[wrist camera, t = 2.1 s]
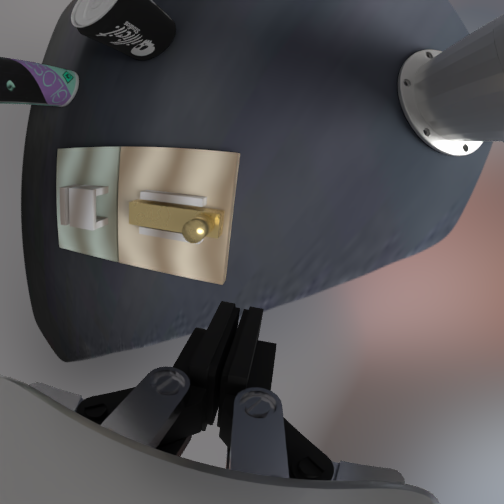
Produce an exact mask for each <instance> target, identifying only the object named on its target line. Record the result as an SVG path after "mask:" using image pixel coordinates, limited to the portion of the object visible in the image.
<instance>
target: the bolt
mask: <svg viewBox="0 0 504 504" xmlns="http://www.w3.org/2000/svg"><path fill="white" fill-rule="evenodd" d="M224 213H225V211H224V210H217V209H210V208H203V207H195V206H188V205H180V204H173V203H165V202H157V201H148V200H140V199H137V200H134V201H131V202H129V224H131V225H137V226H144V227H150V228H156V229H162V230H168V231H174V232H180V233H182V234H183V237H184V238H185V240H186V241H188V242H190V243H198V242H200V241H201V240H202V239H203V238H204V237H210V238H216V239H218V238H219V237H220V236H221V235H222V232H223V222H224Z"/></svg>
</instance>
